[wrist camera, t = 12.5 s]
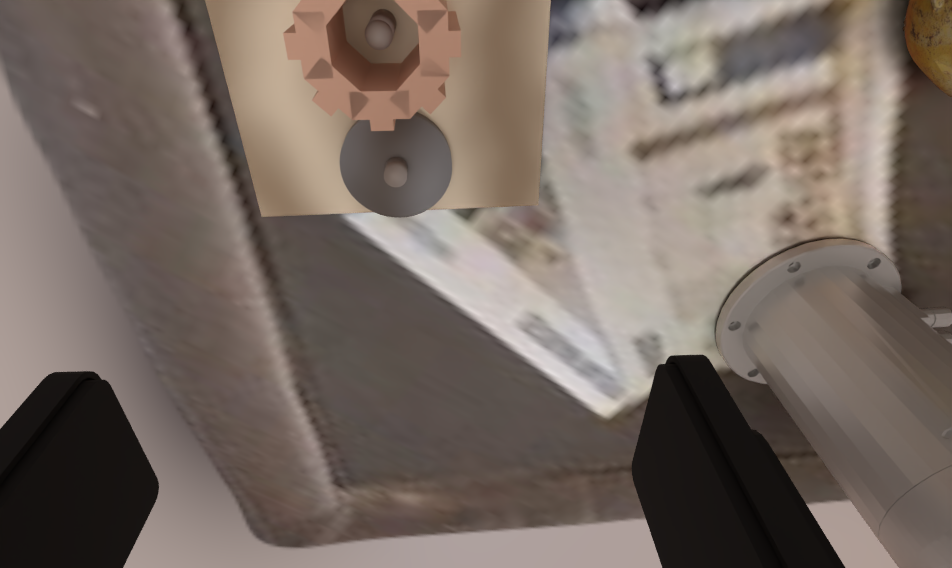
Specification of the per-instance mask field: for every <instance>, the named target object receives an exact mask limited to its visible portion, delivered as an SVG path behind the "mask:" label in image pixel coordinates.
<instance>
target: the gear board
mask: <svg viewBox="0 0 952 568" xmlns="http://www.w3.org/2000/svg"><path fill="white" fill-rule="evenodd" d="M300 1H301V0H205V2H206V5H207V9H208V13H209V17H210V21H211V25H212V28H213V32H214V36H215V40H216V44H217V47H218V51H219V55H220V59H221V63H222V66H223V70H224V74H225V78H226V82H227V86H228V89H229V93H230V97H231V101H232V105H233V108H234V112H235V116H236V120H237V124H238V128H239V131H240V135H241V139H242V143H243V147H244V150H245V154H246V158H247V162H248V166H249V169H250V173H251V177H252V181H253V185H254V189H255V192H256V196H257V200H258V204H259V208H260V211H261V215H262V217H270V216H294V215H317V214H341V213H365V212H375V213H378V214H380V215H384V216H389V217H409V216H414V215H417V214H420V213H422V212H424V211H426V210H436V209H460V208H484V207H508V206H532V205H538V200H539V184H540V168H541V151H542V135H543V118H544V102H545V86H546V69H547V53H548V36H549V20H550V3H551V0H446V3H447V8H448V11H456V15H457V18H458V22H459V26H460V30H461V57H449V75H450V76H449V77H448V78H447V79H446V81H445V92H446V98H445V99H444V100H443V101H442V102H441V104H440V105H439V106H438V107H437V108H436V109H435V110H434V111H433V112H432V113H431V114H429V113H428V112H427V111H426V110H425V109H424V108H423V107H421V108H420V109H419V110H418V111H417V112H416V113H415V114H414V115H413V116H412V117H411V119H396V121H395V127H394V131H371V126H370V120H352V119H350V118H349V117H348V116H347V115H346V114H345V113H343V112H342V111H341V110H340V109H339V108H338V109H337V110H336V112H335V113H334V114H333V115H332V116H330V115H329V114H327V113H326V112H325V111H324V110H323V109H322V108H320V107H319V106H318V105H317V104H316V103H314V102H313V101H312V99H313V97H314V96H315V94H316V92H317V91H318V90H316V89H315V88H314V87H313V86H312V85H311V84H309V83H308V82H307V81H306V80H305V79H304V77H303V71H302V65H301V60H288V57H287V52H286V47H285V41H284V36H283V33H284V32H285V31H286V30H287V29H288V28H289V27H291V26H292V25H293V24H294V19H293V13H292V12H293V10H294V9H295V8H296V6H297V5H298V4H299V2H300ZM342 8H343V16H344V24H345V32H346V40H347V42H348V43H349V44H350V45H352V46H353V47H354V48H355V49H356V50H357V51H358V52H359V53H360V54H361V55H362V56H363V57H364V58H366V59H367V60H368V61H369V62H370V63H402V62H403V60H404V59H405V58H406V57H407V56H408V55H409V53H410V52H411V51H412V50H413V49H414V48H415V47H416V45H417V44H418V43H419V36H418V24H417V23H416V22H415V21H414V20H413V19H412V18H411V17H410V16H409V15H408V14H407V13H406V12H405V11H404V10H403V9H402V8H401V7H400V6H399V5H398V4H397V3H396V2H395V1H394V0H347V1H346V2H345V4H344V5H343V6H342Z"/></svg>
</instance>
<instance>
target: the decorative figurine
mask: <svg viewBox="0 0 952 568" xmlns="http://www.w3.org/2000/svg"><path fill="white" fill-rule="evenodd" d="M904 25H905V26H904V27H903V31H905V39H906V44H907V48H908V51H909V53H910V55H911V57H912V59H913V60H914V62H915V63H916V64H917V65H918V67H919V68H920V69H921V70H922V71H923V73H924V74H925V75H926V76H927V77H928V78H929V79H930V80H931V81H932V82H933V83H934V84H935V85H936V86H937V87H938V88H939V89H941V90H942V91H943V92H944V93H946V94H947V95H948V96H950V97H952V0H909V3H908V7H907V11H906V18H905V20H904Z"/></svg>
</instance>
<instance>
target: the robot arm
mask: <svg viewBox="0 0 952 568" xmlns="http://www.w3.org/2000/svg"><path fill="white" fill-rule="evenodd" d="M901 289H902V285H901V279H900V274H899V272H898V270H897V268H896V266H895V264H894V263H893V262H892V261H891V260H890V259H889V258H888V257H887V256H886V255H884V254H883V253H882V252H880V251H879V250H877V249H876V248H874V247H873V246H871V245H869V244H866V243H863V242H861V241H857V240H850V239H825V240H820V241H815V242H810V243H806V244H803V245H800V246H798V247H795V248H792V249H789V250H787V251H785V252H783V253H781V254H779V255H777V256H775V257H773V258H771V259H770V260H768V261H767V262H765V263H764V264H762V265H761V266H760V267H758V268H757V269H755V270H754V271H753V272H752V273H751V274H750V275H748V276H747V277H746V278H745V279H744V280H743V281H742V282H741V283H740V284H739V285H738V286H737V288H736V289H735V290H734V291H733V292H732V293H731V295H730V296H729V298H728V299H727V301H726V303H725V304H724V306H723V308H722V310H721V313H720V315H719V318H718V321H717V326H716V334H715V335H716V343H717V347H718V350H719V352H720V354H721V356H722V358H723V359H724V360H725V362H726V363H727V365H728V366H729V368H730V369H732V370H733V371H734V372H735V373H736V374H737V375H739V376H741V377H743V378H744V379H747V380H749V381H753V382H757V383H761V384H768V385H769V387H770V388H771V390H772V391H773V392H774V394H775V395H776V397H777V398H778V399H779V401H780V402H781V404H782V405H783V406H784V408H785V409H786V411H787V412H788V413H789V415H790V416H791V418H792V419H793V420H794V422H795V423H796V425H797V426H798V427H799V429H800V430H801V432H802V433H803V434H804V436H805V437H806V439H807V440H808V441H809V443H810V444H811V446H812V447H813V449H814V450H815V451H816V453H817V454H818V456H819V457H820V458H821V460H822V461H823V463H824V464H825V465H826V467H827V468H828V470H829V471H830V472H831V474H832V475H833V477H834V478H835V479H836V481H837V482H838V484H839V485H840V486H841V488H842V489H843V491H844V492H845V493H846V495H847V496H848V498H849V499H850V500H851V502H852V503H853V505H854V506H855V508H856V509H857V510H858V512H859V513H860V515H861V516H862V517H863V519H864V520H865V521H866V523H867V524H868V526H869V527H870V529H871V530H872V531H873V533H874V534H875V536H876V537H877V538H878V540H879V541H880V543H881V544H882V545H883V546H884V548H885V549H886V550H887V552H888V553H889V554H890V556H891V558H892V559H893V560H894V562H895V563H896V564H897V566H898V567H899V568H952V335H951V334H950V333H948V332H946V331H935V330H934V329H933V328H932V327H947V326H950V325H951V324H952V312H951V310H950V309H948V308H946V307H934V308H923V309H919V308H918V307H917V306H915V305H914V304H913V303H912V302H911V301H909V300H908V299H907V298H906V297H904V296H903V295H902V294H901ZM632 476H633V481H634V485H635V488H636V491H637V493H638V496H639V499H640V502H641V505H642V508H643V511H644V514H645V517H646V520H647V523H648V526H649V529H650V532H651V535H652V538H653V541H654V544H655V547H656V550H657V553H658V556H659V559H660V562H661V565H662V568H845V566H844V565H843V563H842V562H841V560H840V558H839V557H838V555H837V553H836V552H835V550H834V549H833V547H832V545H831V544H830V542H829V541H828V539H827V538H826V536H825V534H824V533H823V531H822V529H821V528H820V526H819V524H818V523H817V521H816V520H815V518H814V516H813V515H812V513H811V511H810V510H809V508H808V507H807V505H806V503H805V502H804V500H803V498H802V497H801V495H800V494H799V492H798V490H797V489H796V487H795V486H794V484H793V482H792V481H791V479H790V477H789V476H788V474H787V473H786V471H785V469H784V468H783V466H782V465H781V463H780V461H779V460H778V458H777V456H776V455H775V453H774V452H773V450H772V448H771V447H770V445H769V444H768V442H767V441H766V440H765V438H764V437H763V436H762V435H761V434H760V433H759V432H757V431H756V430H751V428H750V427H749V425H748V423H747V422H746V420H745V418H744V417H743V415H742V413H741V412H740V410H739V409H738V407H737V405H736V404H735V402H734V400H733V399H732V397H731V395H730V394H729V392H728V390H727V389H726V387H725V385H724V384H723V382H722V380H721V379H720V377H719V375H718V374H717V372H716V370H715V369H714V367H713V365H712V364H711V362H710V360H709V359H708V358H707V357H706V356H704V355H676V356H670V357H669V358H668V359H667V361H666V364H659V365H658V367H657V369H656V372H655V376H654V380H653V384H652V388H651V392H650V396H649V399H648V403H647V407H646V411H645V415H644V419H643V423H642V426H641V430H640V434H639V438H638V442H637V446H636V450H635V453H634V457H633V461H632ZM158 490H159V485H158V479H157V477H156V475H155V473H154V471H153V469H152V467H151V465H150V463H149V461H148V459H147V457H146V455H145V453H144V451H143V449H142V447H141V445H140V443H139V441H138V439H137V437H136V435H135V433H134V431H133V429H132V427H131V425H130V423H129V421H128V419H127V418H126V415H125V414H124V411H123V409H122V407H121V405H120V403H119V401H118V399H117V397H116V395H115V393H114V391H113V390H112V387H111V385H110V384H109V383H108V382H107V381H106V380H101V378H100V377H99V376H98V374H96V373H95V372H90V371H89V372H88V371H87V372H86V371H84V372H54V373H52V374H49V375H48V376H47V377H46V378H45V379H43V380H42V382H41V383H40V384H39V385H38V386H37V387H36V388H35V390H34V391H33V392H32V393H31V394H30V395H29V397H28V398H27V399H26V400H25V401H24V402H23V403H22V405H21V406H20V407H19V408H18V409H17V410H16V411H15V413H14V414H13V415H12V416H11V417H10V418H9V420H8V421H7V422H6V423H5V424H4V425H3V427H2V428H1V429H0V568H123V567H124V565H125V563H126V560H127V558H128V556H129V554H130V552H131V550H132V548H133V546H134V544H135V542H136V540H137V538H138V536H139V534H140V532H141V530H142V528H143V526H144V524H145V522H146V520H147V518H148V516H149V514H150V512H151V510H152V508H153V506H154V504H155V502H156V499H157V495H158Z"/></svg>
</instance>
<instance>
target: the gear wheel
mask: <svg viewBox="0 0 952 568" xmlns="http://www.w3.org/2000/svg"><path fill="white" fill-rule="evenodd" d="M346 1H347V0H301V1H300V2H299V4H298V5H297V6H296V8H295V9H294V10H293V12H292V13H293V19H294V24H293V25H292V26H291V27H289V28H288V29H287V30H286V31H285V32H284V33H283V36H284V41H285V47H286V52H287V57H288V60H301V65H302V71H303V77H304V79H305V80H306V81H307V82H308V83H309V84H311V85H312V86H313V87H314V88H315V89H316V90H318V91H317V92H316V94H315V96H314V97H313V99H312V101H313V102H314V103H316V104H317V105H318V106H319V107H320V108H322V109H323V110H324V111H325V112H326V113H327V114H329V115H330V116H332V115H333V114H334V113H335V112H336V110H337V109H338V108H339V109H340V110H341V111H342V112H343V113H345V114H346V115H347V116H348V117H349V118H350V119H352V120H370V126H371V131H394V127H395V121H396V119H411V117H412V116H413V115H414V114H415V113H416V112H417V111H418V110H419V109H420V108H421V107H423V108H424V109H425V110H426V111H427V112H428V113H429V114H431V113H432V112H433V111H434V110H435V109H436V108H437V107H438V106H439V105H440V104H441V102H442V101H443V100H444V99H445V98H446V92H445V81H446V79H447V78H448V77H449V76H450V75H449V57H461V30H460V26H459V22H458V18H457V15H456V11H448V8H447V3H446V0H394V1H395V2H396V3H397V4H398V5H399V6H400V7H401V8H402V9H403V10H404V11H405V12H406V13H407V14H408V15H409V16H410V17H411V18H412V19H413V20H414V21H415V22H416V23H417V24H418V36H419V43H418V44H417V45H416V47H415V48H414V49H413V50H412V51H411V52H410V53H409V55H408V56H407V57H406V58H405V59H404V60H403V62H402V63H370V62H369V61H368V60H367V59H366V58H364V57H363V56H362V55H361V54H360V53H359V52H358V51H357V50H356V49H355V48H354V47H353V46H352V45H350V44H349V43H348V42H347V40H346V32H345V24H344V16H343V8H342V6H343V5H344V4H345V2H346Z"/></svg>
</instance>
